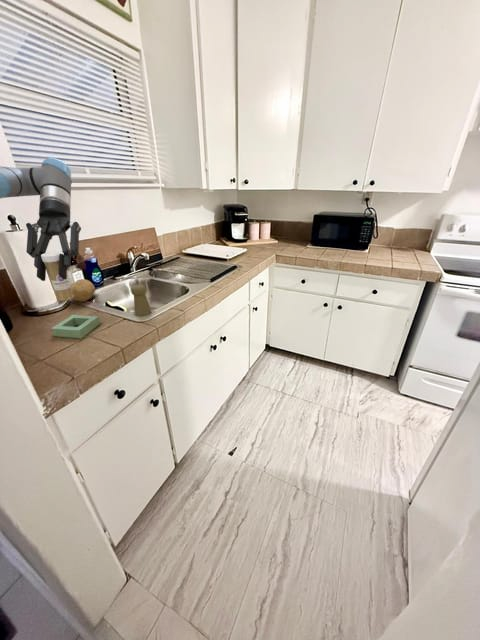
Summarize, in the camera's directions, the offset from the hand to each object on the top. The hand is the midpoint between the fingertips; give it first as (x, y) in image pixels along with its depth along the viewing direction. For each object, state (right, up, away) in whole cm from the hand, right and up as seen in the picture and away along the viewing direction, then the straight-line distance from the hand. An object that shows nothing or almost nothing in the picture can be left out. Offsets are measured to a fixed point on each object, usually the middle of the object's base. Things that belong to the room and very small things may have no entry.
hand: (52, 277), depth 71 cm
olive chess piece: (+13, -9, +31) cm, 35 cm away
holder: (-5, -15, +19) cm, 25 cm away
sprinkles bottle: (-1, -5, +7) cm, 9 cm away
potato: (-17, -3, +42) cm, 45 cm away
